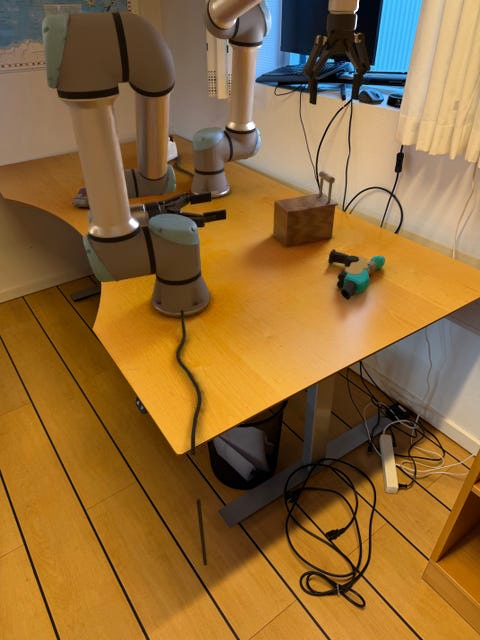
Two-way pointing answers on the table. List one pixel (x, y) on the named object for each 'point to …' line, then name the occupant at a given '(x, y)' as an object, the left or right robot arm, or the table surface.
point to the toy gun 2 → (354, 272)
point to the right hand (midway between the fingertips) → (333, 101)
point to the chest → (303, 225)
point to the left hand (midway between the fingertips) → (218, 205)
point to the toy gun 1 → (81, 198)
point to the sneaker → (171, 148)
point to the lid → (309, 199)
